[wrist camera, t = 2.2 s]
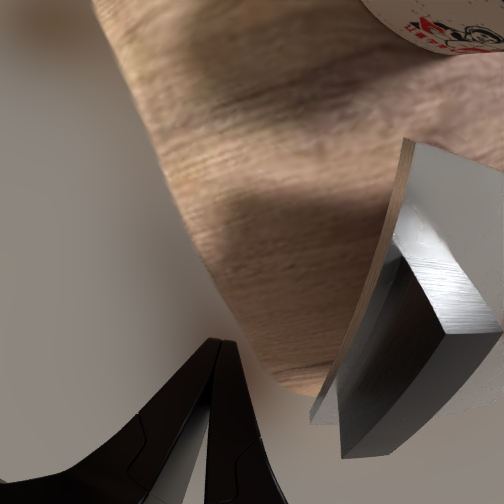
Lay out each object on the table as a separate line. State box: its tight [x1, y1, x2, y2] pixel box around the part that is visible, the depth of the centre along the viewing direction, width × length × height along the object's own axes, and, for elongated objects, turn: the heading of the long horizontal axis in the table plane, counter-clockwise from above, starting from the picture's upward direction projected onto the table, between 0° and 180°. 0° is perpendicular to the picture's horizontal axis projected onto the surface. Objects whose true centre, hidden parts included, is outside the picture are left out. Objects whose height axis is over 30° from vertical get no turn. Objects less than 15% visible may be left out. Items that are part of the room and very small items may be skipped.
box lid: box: [310, 137, 504, 459], centre depth 8 cm, size 13×13×4 cm
